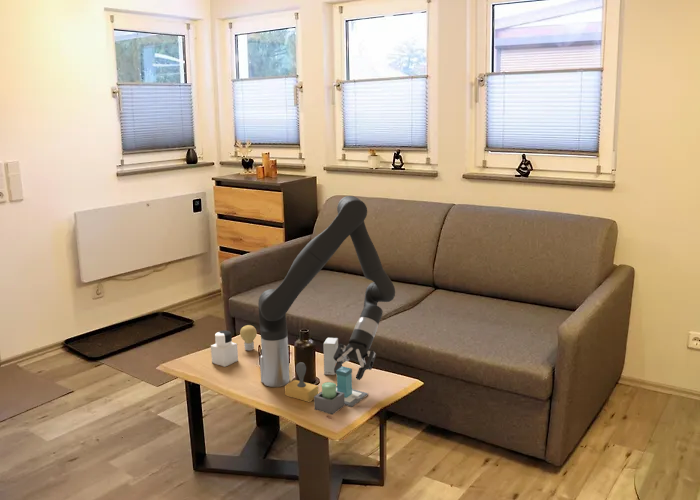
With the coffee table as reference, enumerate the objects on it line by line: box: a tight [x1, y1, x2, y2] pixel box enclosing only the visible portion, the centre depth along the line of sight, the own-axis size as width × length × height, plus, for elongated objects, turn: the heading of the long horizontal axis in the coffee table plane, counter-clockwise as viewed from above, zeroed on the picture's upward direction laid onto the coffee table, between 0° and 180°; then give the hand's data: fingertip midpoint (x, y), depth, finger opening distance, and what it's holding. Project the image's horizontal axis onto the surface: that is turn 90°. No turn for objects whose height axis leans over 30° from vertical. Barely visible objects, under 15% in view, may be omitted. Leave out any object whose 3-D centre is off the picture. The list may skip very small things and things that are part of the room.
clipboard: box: [336, 385, 368, 407], centre depth 220 cm, size 12×10×1 cm
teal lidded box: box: [335, 365, 353, 398], centre depth 218 cm, size 4×4×9 cm
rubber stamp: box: [284, 361, 319, 403], centre depth 220 cm, size 10×6×12 cm, turn 58°
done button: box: [321, 381, 337, 400], centre depth 211 cm, size 5×5×4 cm
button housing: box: [313, 391, 346, 415], centre depth 212 cm, size 7×7×4 cm
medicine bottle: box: [210, 329, 239, 368], centre depth 248 cm, size 7×7×12 cm
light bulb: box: [239, 324, 257, 352], centre depth 260 cm, size 6×6×10 cm
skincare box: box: [322, 337, 339, 376], centre depth 238 cm, size 6×4×12 cm
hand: (346, 376), depth 219 cm, fingers open, 8 cm apart
